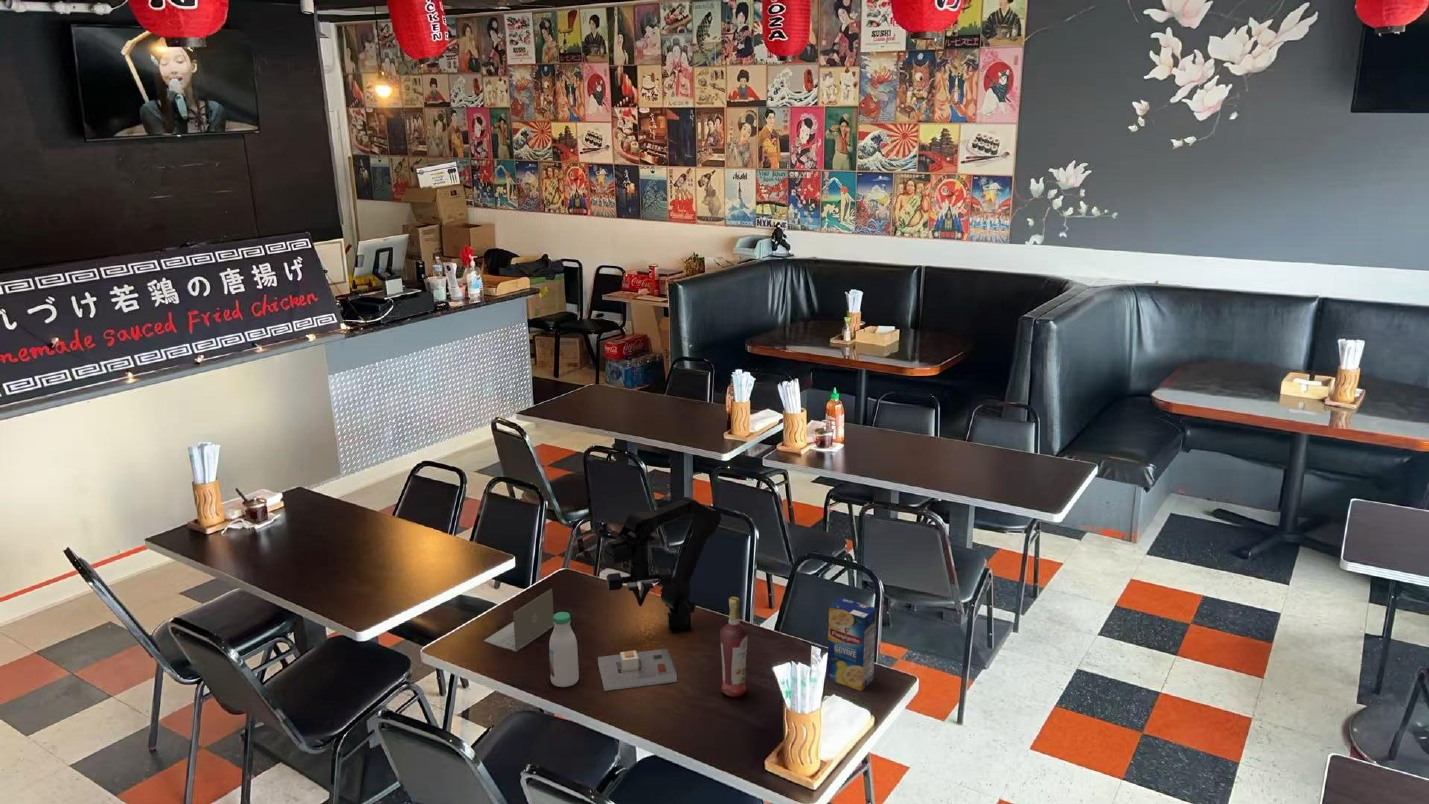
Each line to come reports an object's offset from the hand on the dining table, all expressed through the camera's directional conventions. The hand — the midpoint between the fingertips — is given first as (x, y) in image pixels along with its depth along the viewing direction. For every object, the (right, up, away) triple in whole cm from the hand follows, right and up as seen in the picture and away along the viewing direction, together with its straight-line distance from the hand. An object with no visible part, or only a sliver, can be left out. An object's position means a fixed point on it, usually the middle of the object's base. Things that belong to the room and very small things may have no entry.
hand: (640, 605), depth 298 cm
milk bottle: (-20, -18, -17) cm, 31 cm away
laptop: (-37, -11, +9) cm, 40 cm away
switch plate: (0, -16, -14) cm, 21 cm away
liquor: (+27, -19, -23) cm, 40 cm away
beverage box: (+59, -17, -17) cm, 64 cm away
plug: (-2, -16, -14) cm, 22 cm away
